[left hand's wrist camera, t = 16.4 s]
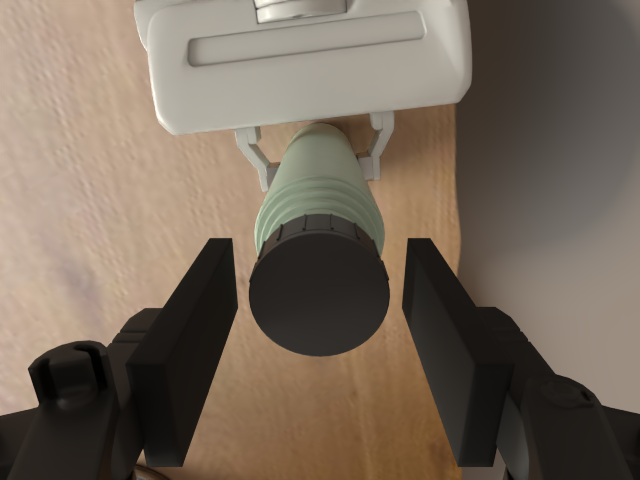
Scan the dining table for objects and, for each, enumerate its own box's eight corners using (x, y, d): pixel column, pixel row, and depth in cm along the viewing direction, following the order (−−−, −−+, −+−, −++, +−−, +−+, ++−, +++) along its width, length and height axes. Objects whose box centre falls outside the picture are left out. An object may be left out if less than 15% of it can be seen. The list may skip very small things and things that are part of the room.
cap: (352, 340, 16) (356, 373, 14) (240, 303, 15) (230, 332, 13) (403, 239, 14) (415, 262, 12) (281, 193, 13) (275, 210, 12)
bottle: (275, 142, 35) (199, 257, 13) (334, 110, 34) (359, 176, 12) (306, 199, 36) (286, 384, 15) (363, 170, 35) (431, 321, 14)
